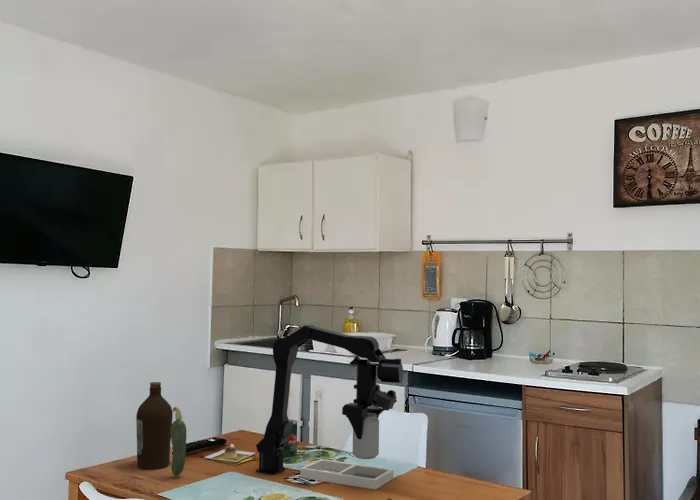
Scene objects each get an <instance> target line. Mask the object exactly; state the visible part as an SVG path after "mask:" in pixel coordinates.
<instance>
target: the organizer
mask: <svg viewBox="0 0 700 500" xmlns="http://www.w3.org/2000/svg"><path fill="white" fill-rule="evenodd" d="M322 469H323V470H322ZM325 470H329V471H325ZM332 471H335V472H332ZM356 473H359V474H365V475H371V476H378V477H376V478H375V479H371V478H365V477H359V476H352V475H354V474H356ZM299 477H300V478H304V479H308V478H309V479H310V480H316V481H322V482H327V483H332V484H333V483H334V484H338V485H345V486H351V487H357V488H363V489H368V490H370V489H371V490H377V489H379V488H381V487H383V486H384V485H386V484H387V483H389V482H391V481H392V480H394V469H391V468H384V467H377V466H369V465H363V464H358V463H351V462H350V463H349V462H343V461H337V460H331V459H324V458H320V459H318V460H316V461H313V462H311V463H310V464H307V465H304V466H302V467H300V474H299Z"/></svg>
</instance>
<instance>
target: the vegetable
mask: <svg viewBox="0 0 700 500" xmlns="http://www.w3.org/2000/svg"><path fill="white" fill-rule="evenodd" d="M172 412H173V413H174V412H175V414H174V415H175V416H174V417H175V418H174V419H175V420H174V421H172V425H171V447H172V460H171V461H172V462H171V474H172V475H173V477H174V478H178V477H179V476H180V475H181V474H182V472H184V469H185V463H186V453H187V426H186V423H185V422H184V421H183V415H182V412H181V409H180V408H178V407H177V406H174V407H173V408H172Z"/></svg>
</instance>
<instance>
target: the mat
mask: <svg viewBox="0 0 700 500" xmlns="http://www.w3.org/2000/svg"><path fill="white" fill-rule="evenodd" d="M352 476H359V477H365V478H371V479H375V478H376V477H378V476H371V475H365V474H359V473H356V474H354V475H352Z"/></svg>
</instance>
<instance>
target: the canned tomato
mask: <svg viewBox="0 0 700 500" xmlns="http://www.w3.org/2000/svg"><path fill="white" fill-rule="evenodd" d="M288 420H289V421H293V426H292V433H293V434H292V435H290V438H289V440H288V441H286V442H285V444H284V447H283V448H280V449H281V450H282V455H283V456H284V458H283V460H290V459H295V458H297V457H298V420H296V419H289V418H288Z"/></svg>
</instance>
